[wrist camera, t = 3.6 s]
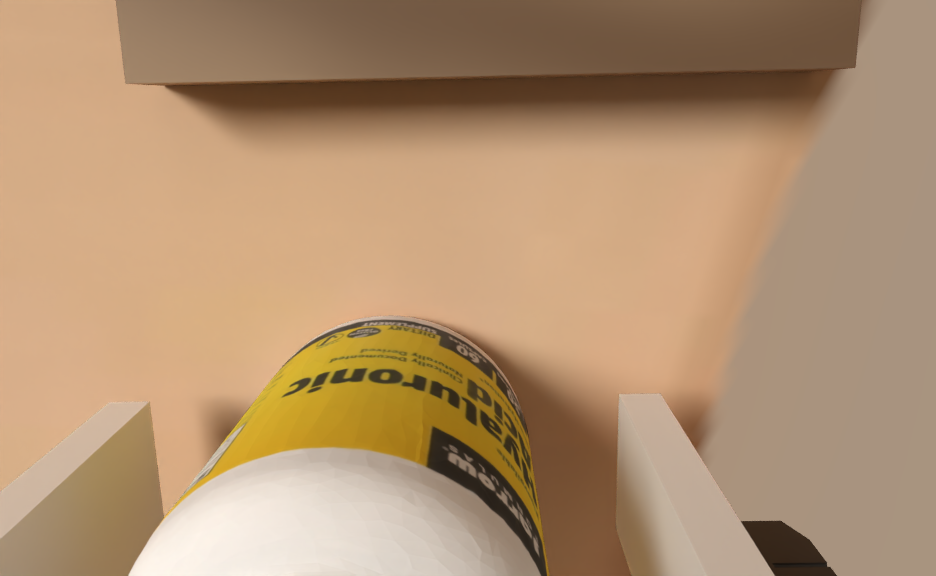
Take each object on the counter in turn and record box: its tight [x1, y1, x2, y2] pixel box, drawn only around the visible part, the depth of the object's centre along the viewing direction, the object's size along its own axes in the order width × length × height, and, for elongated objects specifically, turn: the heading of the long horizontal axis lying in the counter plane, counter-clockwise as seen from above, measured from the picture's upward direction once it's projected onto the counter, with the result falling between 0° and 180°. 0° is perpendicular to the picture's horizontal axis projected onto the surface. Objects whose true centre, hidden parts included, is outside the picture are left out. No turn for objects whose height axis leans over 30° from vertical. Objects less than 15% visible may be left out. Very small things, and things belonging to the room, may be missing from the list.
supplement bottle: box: [128, 316, 549, 576], centre depth 11 cm, size 5×5×10 cm
